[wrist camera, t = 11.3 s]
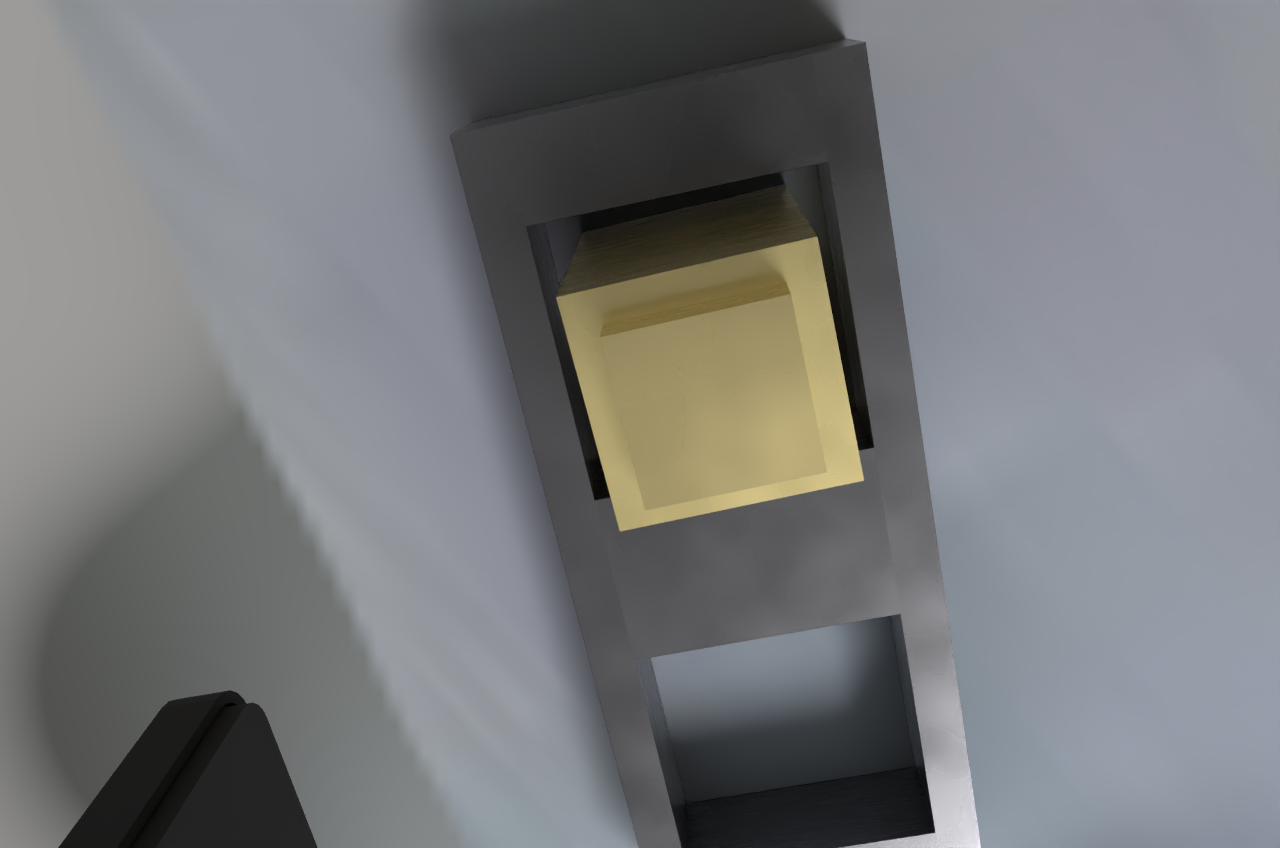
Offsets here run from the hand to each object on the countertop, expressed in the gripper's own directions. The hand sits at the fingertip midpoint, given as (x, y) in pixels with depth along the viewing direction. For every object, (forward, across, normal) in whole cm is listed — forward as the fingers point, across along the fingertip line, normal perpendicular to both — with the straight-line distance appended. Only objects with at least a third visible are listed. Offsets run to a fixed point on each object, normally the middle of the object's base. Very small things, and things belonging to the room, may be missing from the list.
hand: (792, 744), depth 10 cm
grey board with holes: (+16, +1, +5) cm, 17 cm away
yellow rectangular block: (+16, +1, 0) cm, 17 cm away
